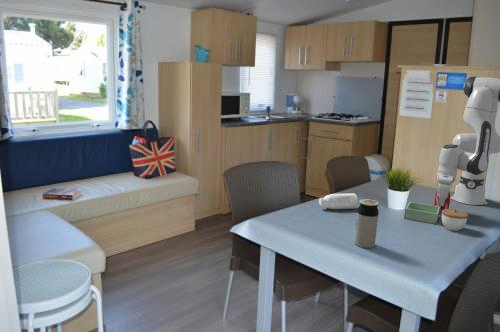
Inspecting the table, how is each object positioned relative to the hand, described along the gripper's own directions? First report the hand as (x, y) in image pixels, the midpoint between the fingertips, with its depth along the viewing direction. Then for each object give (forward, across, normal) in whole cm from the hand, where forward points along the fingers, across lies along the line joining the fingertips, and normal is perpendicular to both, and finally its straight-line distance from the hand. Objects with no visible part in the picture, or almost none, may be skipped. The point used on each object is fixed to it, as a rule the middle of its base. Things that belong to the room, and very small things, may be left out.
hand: (442, 203), depth 212 cm
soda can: (+6, 0, 0) cm, 6 cm away
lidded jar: (+6, +22, +6) cm, 23 cm away
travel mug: (+6, +64, -24) cm, 69 cm away
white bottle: (+6, +24, -47) cm, 53 cm away
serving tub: (+6, +12, -8) cm, 16 cm away
